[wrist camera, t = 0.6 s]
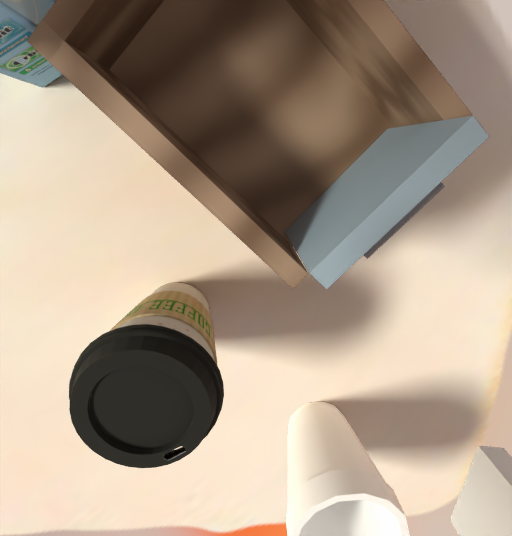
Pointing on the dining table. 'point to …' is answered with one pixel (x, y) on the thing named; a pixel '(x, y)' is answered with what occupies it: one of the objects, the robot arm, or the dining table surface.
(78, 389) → the coffee cup
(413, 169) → the blue gray square panel
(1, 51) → the gum box
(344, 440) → the foam cup
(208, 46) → the crate
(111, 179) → the dining table surface
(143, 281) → the dining table surface
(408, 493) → the dining table surface
